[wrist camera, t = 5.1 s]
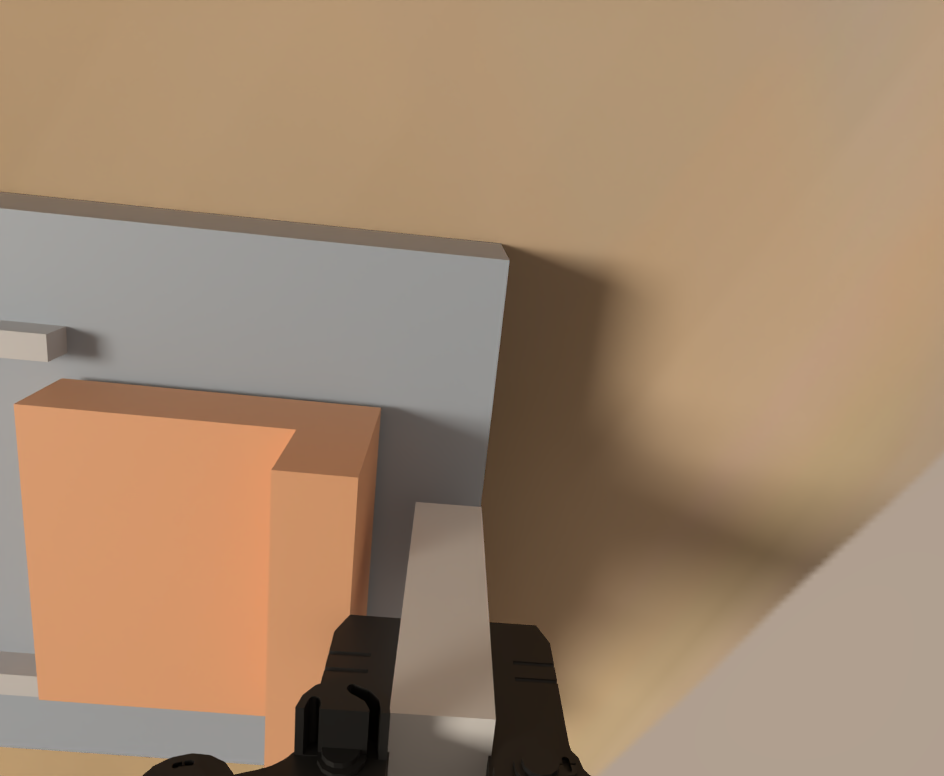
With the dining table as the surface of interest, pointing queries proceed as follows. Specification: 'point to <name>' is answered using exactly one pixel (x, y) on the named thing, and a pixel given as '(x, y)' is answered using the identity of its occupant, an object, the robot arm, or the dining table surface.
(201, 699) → the block
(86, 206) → the socket plate
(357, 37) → the dining table surface
